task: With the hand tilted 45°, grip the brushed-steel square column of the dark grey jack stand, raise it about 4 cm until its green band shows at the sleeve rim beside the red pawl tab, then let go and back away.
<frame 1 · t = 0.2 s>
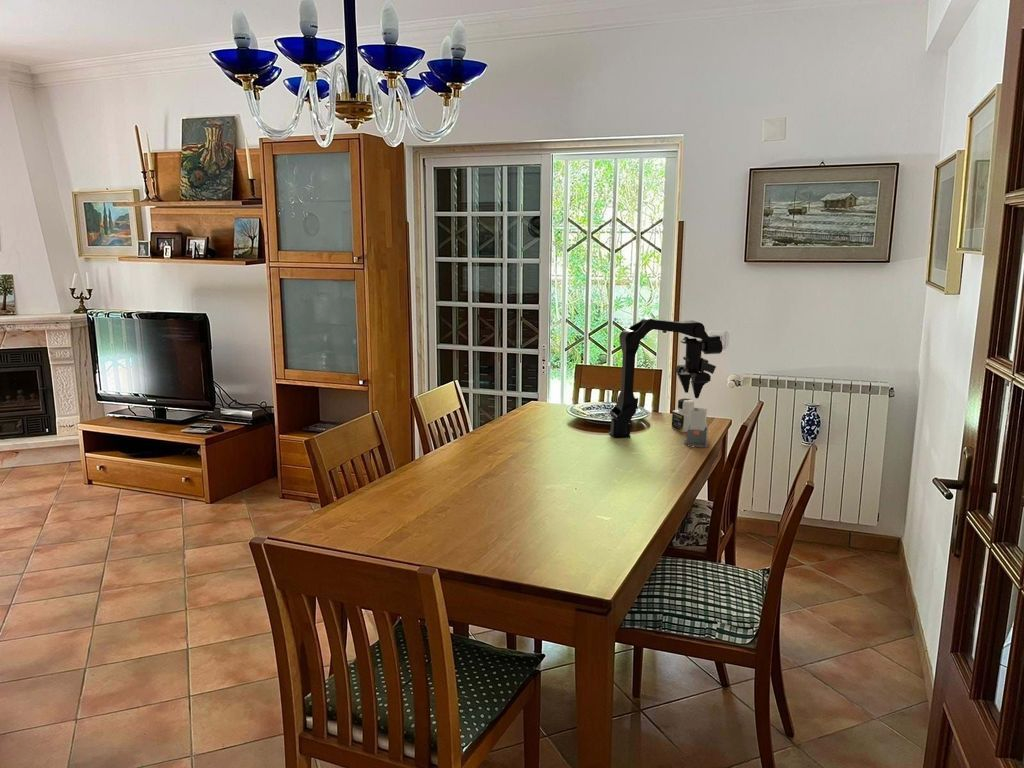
hand: (691, 395, 280), 15 cm above the table, tool pointing down, fingers open, 9 cm apart
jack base: (696, 444, 268), on the table
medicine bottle: (684, 430, 287), on the table
column: (698, 425, 267), point 7 cm above the table, slide at 0.0 cm
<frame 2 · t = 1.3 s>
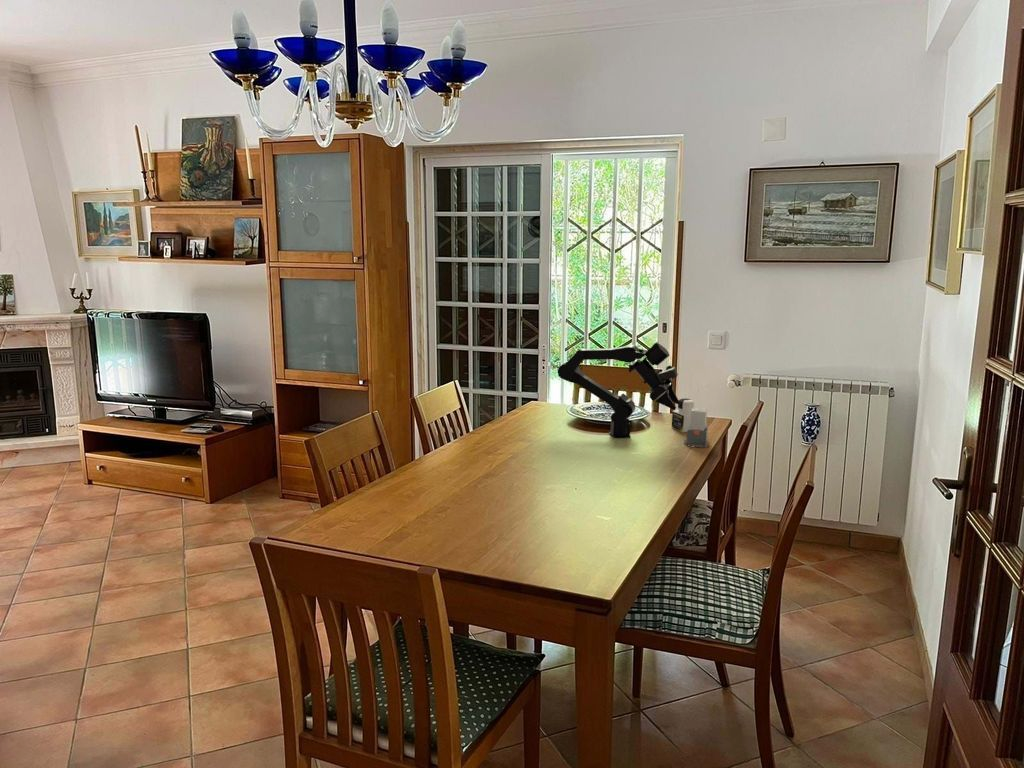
hand: (676, 406, 268), 13 cm above the table, tool tilted 45°, fingers open, 9 cm apart
nothing on the table moved.
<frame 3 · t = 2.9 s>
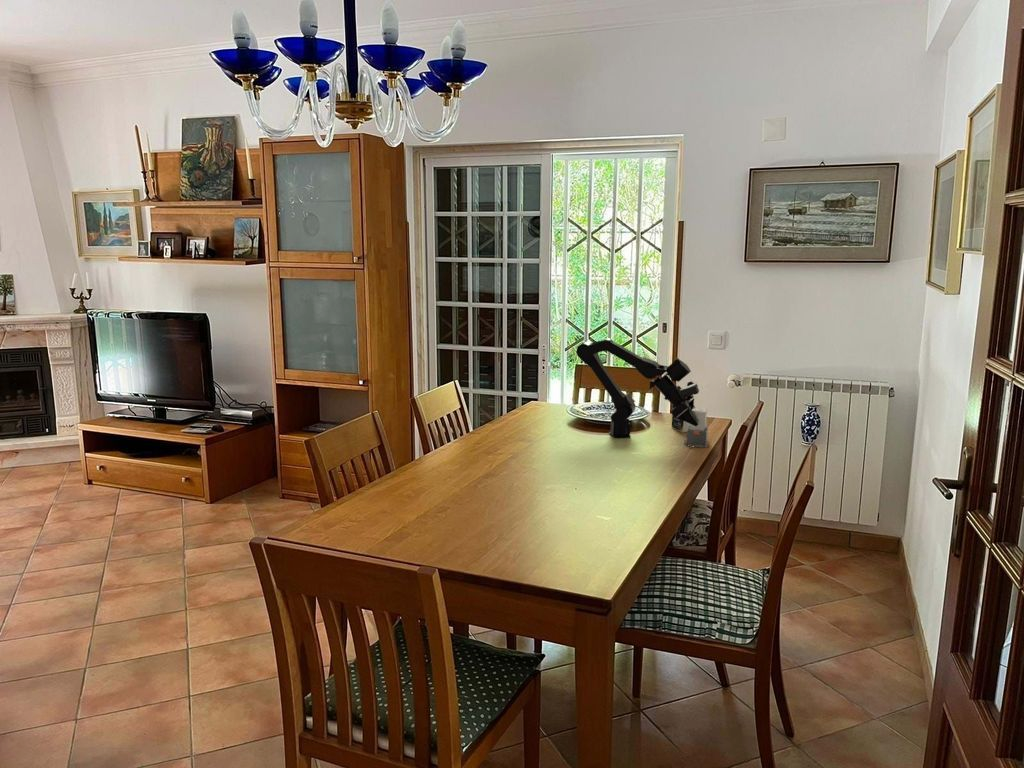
hand: (698, 422, 266), 8 cm above the table, tool tilted 45°, fingers open, 9 cm apart
nothing on the table moved.
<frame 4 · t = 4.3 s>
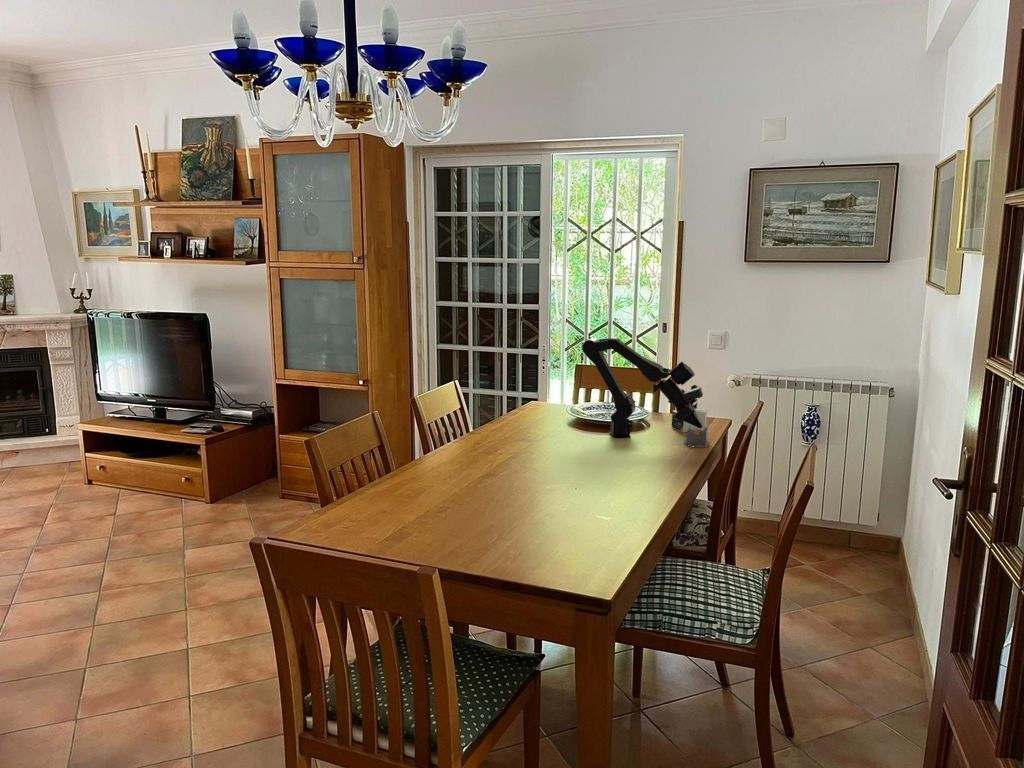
hand: (702, 425, 266), 7 cm above the table, tool tilted 45°, fingers closed on column, 5 cm apart
column: (698, 426, 267), point 7 cm above the table, slide at 0.0 cm, touching gripper
everything else where it was.
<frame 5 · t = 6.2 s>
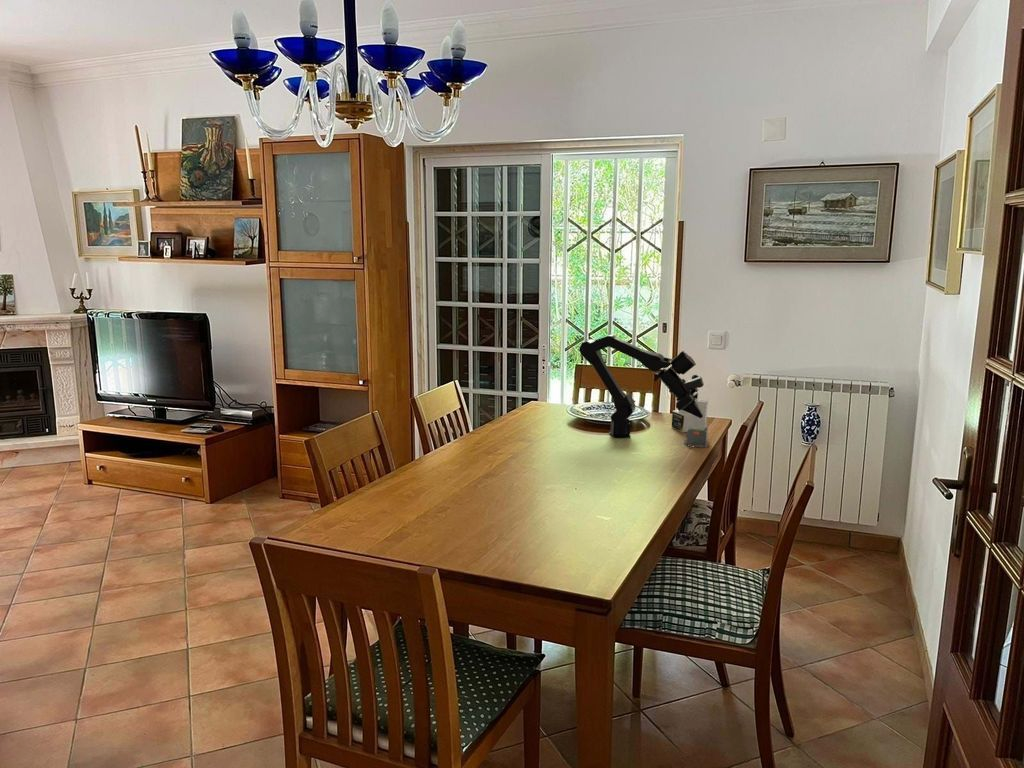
hand: (702, 415, 265), 11 cm above the table, tool tilted 45°, fingers closed on column, 5 cm apart
column: (698, 416, 266), point 10 cm above the table, slide at 3.6 cm, touching gripper
everything else where it was.
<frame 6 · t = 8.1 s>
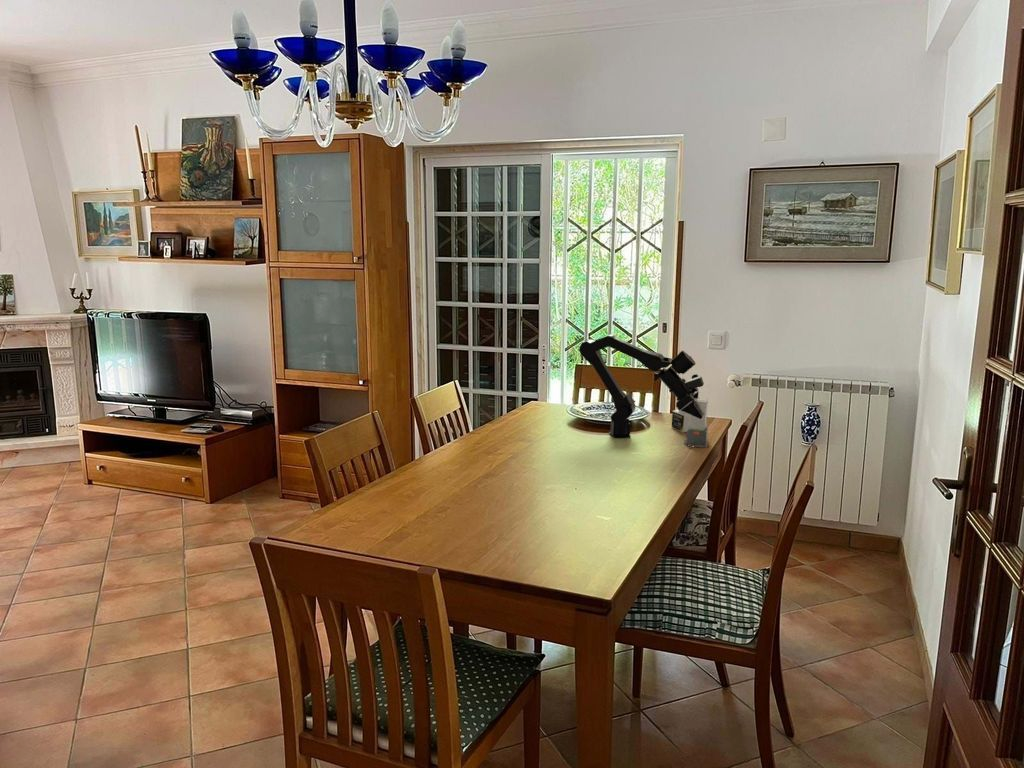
hand: (702, 415, 265), 11 cm above the table, tool tilted 45°, fingers open, 9 cm apart
column: (698, 416, 266), point 11 cm above the table, slide at 3.7 cm
everything else where it was.
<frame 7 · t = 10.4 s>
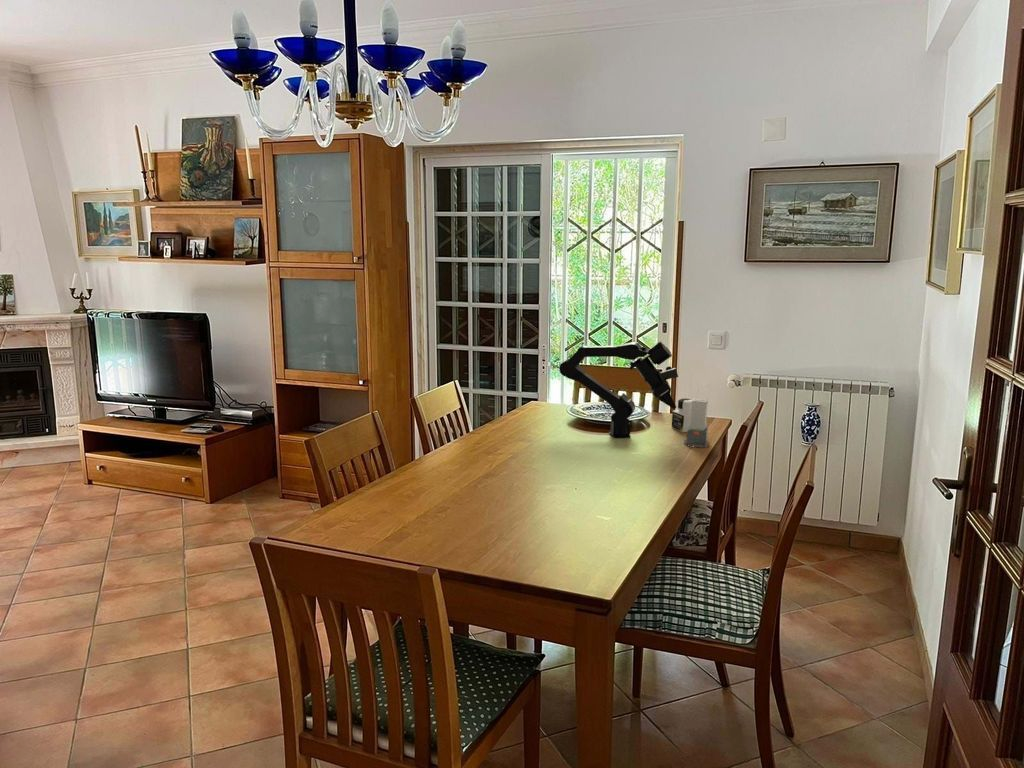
hand: (674, 406, 269), 13 cm above the table, tool tilted 40°, fingers open, 9 cm apart
nothing on the table moved.
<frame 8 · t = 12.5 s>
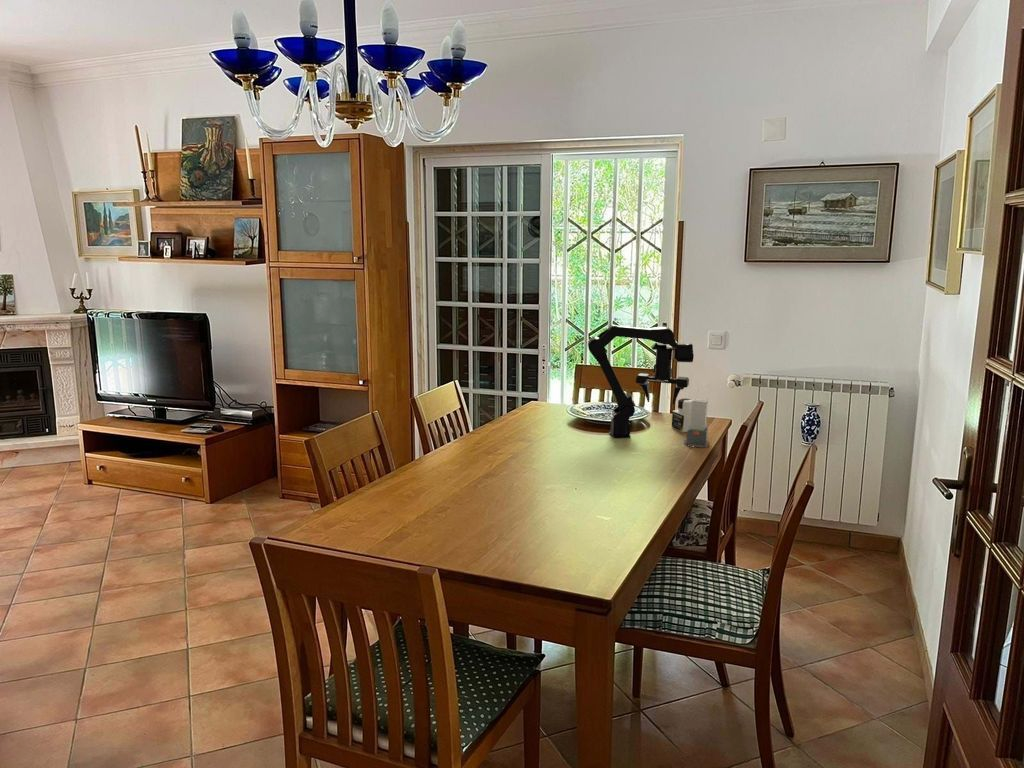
hand: (660, 403, 274), 13 cm above the table, tool pointing down, fingers open, 9 cm apart
nothing on the table moved.
at the end: column slide at 3.7 cm; the gripper is holding nothing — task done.
